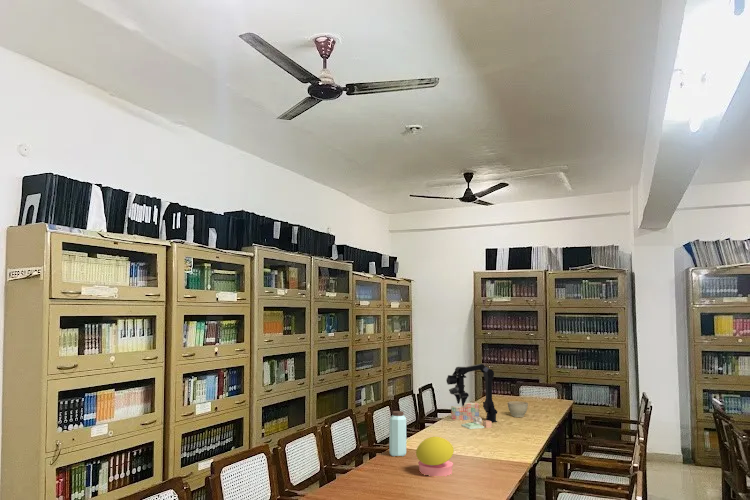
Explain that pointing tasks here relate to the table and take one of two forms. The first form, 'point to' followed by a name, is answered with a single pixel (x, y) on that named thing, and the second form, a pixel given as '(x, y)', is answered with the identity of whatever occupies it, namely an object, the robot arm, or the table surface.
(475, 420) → the cream brick
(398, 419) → the water bottle
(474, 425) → the baseplate
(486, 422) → the salmon pink cube
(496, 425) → the table surface
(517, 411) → the planter bowl
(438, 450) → the yellow egg on stand
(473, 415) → the stack of blocks
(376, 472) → the table surface
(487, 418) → the robot arm
